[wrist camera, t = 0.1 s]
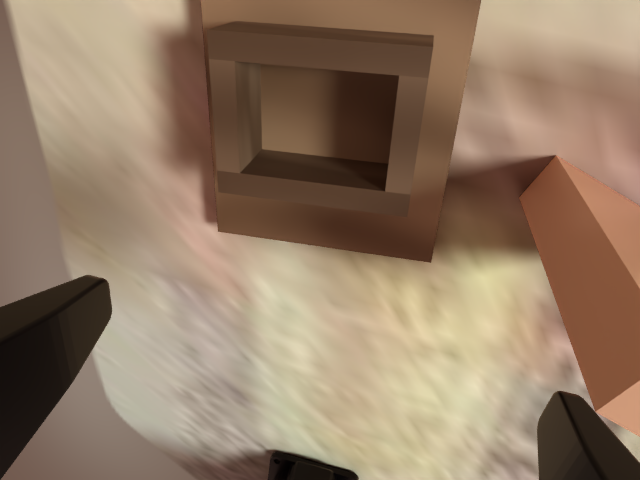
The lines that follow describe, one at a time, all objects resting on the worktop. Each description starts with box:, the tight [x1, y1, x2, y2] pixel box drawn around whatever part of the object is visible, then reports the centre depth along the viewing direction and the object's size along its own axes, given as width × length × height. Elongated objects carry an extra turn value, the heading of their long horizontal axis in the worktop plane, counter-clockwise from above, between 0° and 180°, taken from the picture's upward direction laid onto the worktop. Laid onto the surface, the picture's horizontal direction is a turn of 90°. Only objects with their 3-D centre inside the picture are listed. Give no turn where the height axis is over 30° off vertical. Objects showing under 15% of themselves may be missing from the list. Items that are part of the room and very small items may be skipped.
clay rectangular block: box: [519, 156, 640, 437], centre depth 16 cm, size 2×5×12 cm, turn 62°
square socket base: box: [201, 0, 481, 262], centre depth 20 cm, size 14×11×4 cm
